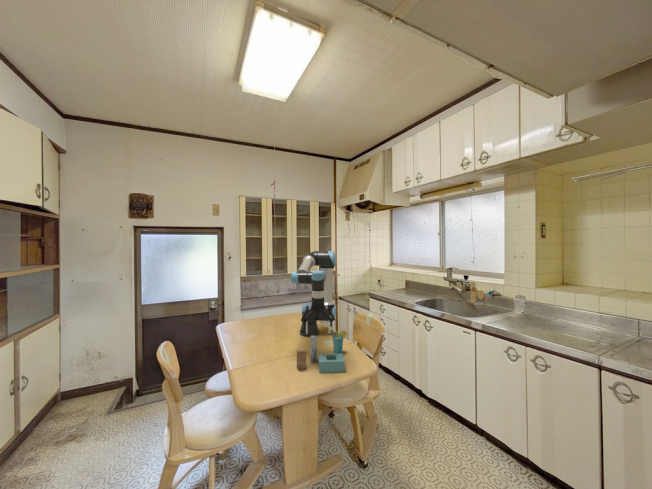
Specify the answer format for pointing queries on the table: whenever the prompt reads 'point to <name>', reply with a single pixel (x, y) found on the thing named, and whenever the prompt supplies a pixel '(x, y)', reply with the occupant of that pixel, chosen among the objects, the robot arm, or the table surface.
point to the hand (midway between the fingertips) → (318, 332)
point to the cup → (338, 341)
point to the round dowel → (313, 348)
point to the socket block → (331, 363)
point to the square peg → (301, 359)
